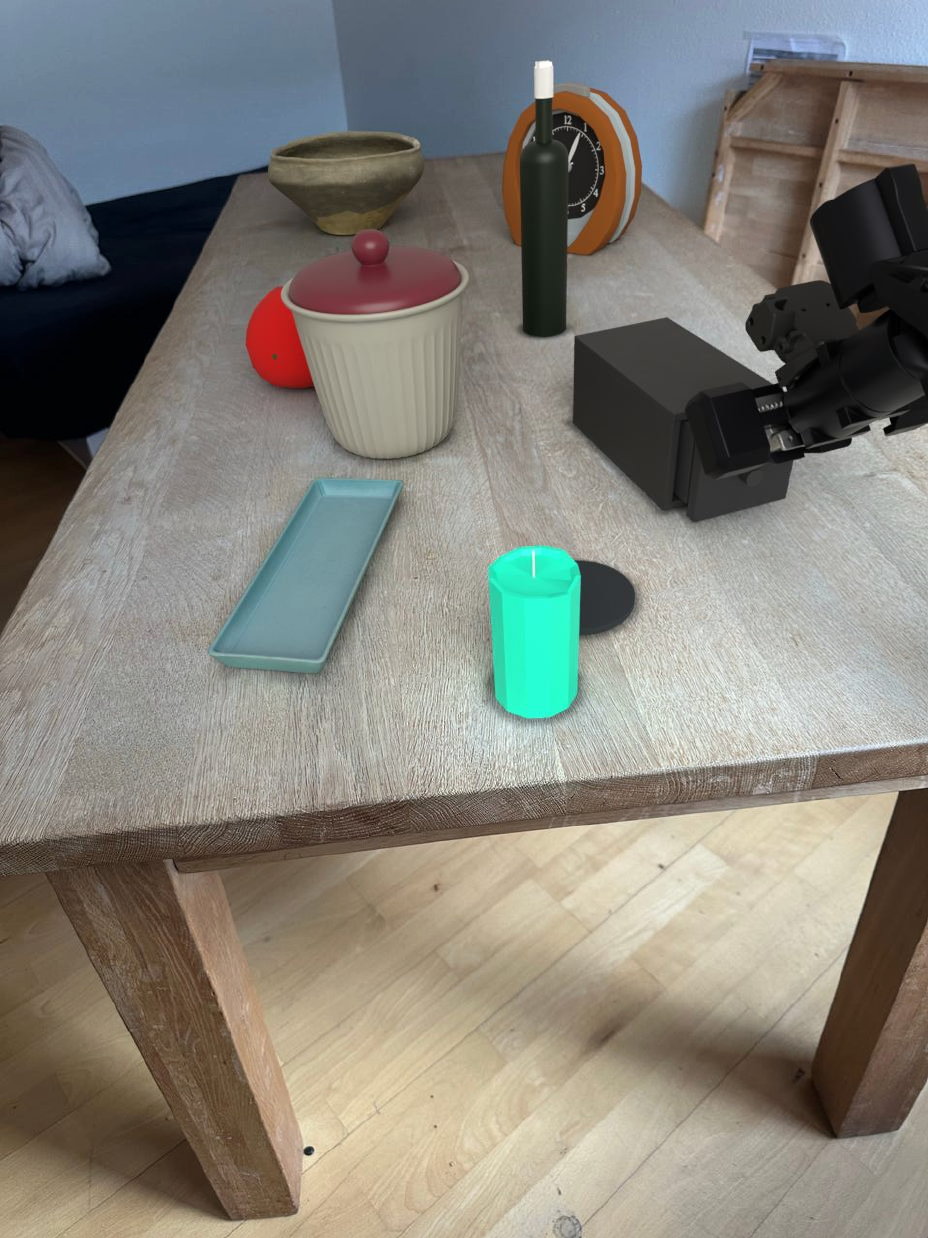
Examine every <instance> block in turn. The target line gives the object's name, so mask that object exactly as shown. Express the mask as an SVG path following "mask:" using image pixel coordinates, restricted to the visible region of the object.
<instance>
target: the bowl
mask: <svg viewBox="0 0 928 1238" xmlns="http://www.w3.org/2000/svg"><path fill="white" fill-rule="evenodd" d="M269 157H270V159H269V162H268V167H267V178H268V181H269V183H270V184H271V185H272V187H274V188H275V189H276V190H277V191H279V192H280V193H281V194H282V195H284V196H285V197H286V198H287V199H289V200H290V201H291V202H292V203H294V204H295V205H296V206H297V207H298V208H299V209H300V210H301V211H302V212H303V213H304V214H305V215H306V216H308V218H309V219H310V220H311V221H313V222H314V223H315V225H316V226H318V228H319V229H320V230H321V231H322V232H325V233H327V234H330V235H335V236H353V235H356V234H357V233H358V232H360V231H363V230H367V229H375V230H380V229H381V228H382V227H383V226H384V225H385V223H386V222H387V221H388V219H389V218H390V217H391V215H392V214H393V213H394V211H395V210H396V209H397V207H398V206H399V205H400V204H401V203H402V202H403V200H405V199H406V198H407V197H408V195H409V194H410V193H411V192H412V191H413V190H414V188H415V187H416V186H417V184H418V183H419V181H420V180H421V179H422V177H423V174H424V170H425V159H424V156H423V151H422V149H421V143H420V142H419V140H418V139H417V138H415V137H413V136H410V135H405V134H402V133H398V132H391V131H372V130H371V131H365V130H364V131H359V130H357V131H356V130H346V131H334V132H326V133H321V134H318V135H312V136H306V137H301V138H297V139H294V140H291V141H289V142H287V143H286V144H283V145H281V146H279V147H276V148H274V149H272V150H271V152H270V156H269Z"/></svg>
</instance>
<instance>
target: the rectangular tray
mask: <svg viewBox="0 0 928 1238" xmlns="http://www.w3.org/2000/svg"><path fill="white" fill-rule="evenodd" d="M404 485H405V483H404V481H403V480H402V479H388V478H387V479H383V478H380V479H379V478H378V479H377V478H346V477H345V478H344V477H316V478H314V479H313V480H312V481H311V482H310V484H309V486H308V488H307V490H306V491H305V493H304V494H303V496H302V497H301V499H300V501H299V502H298V504H297V505H296V508H295V509H294V511H293V512H292V514H291V516H290V517H289V519H288V520H287V522H286V524H285V526H284V527H283V529H282V530H281V532H280V534H279V535H278V537H277V538H276V540H275V542H274V543H273V544H272V546H271V548H270V549H269V551H268V552H267V555H266V556H265V557H264V559H263V561H262V562H261V564H260V565H259V566H258V569H257V570H256V572H255V574H254V575H253V577H252V579H251V580H250V581H249V583H248V585H247V586H246V588H245V590H244V592H243V593H242V595H241V596H240V598H239V600H238V601H237V602H236V604H235V606H234V608H233V609H232V611H231V612H230V614H229V616H228V617H227V619H226V620H225V622H224V624H223V625H222V626H221V628H220V630H219V632H217V634H216V636H215V637H214V639H213V641H212V642H211V644H210V645H209V646H208V648H207V654H208V655H209V656H210V657H212V658H213V659H215V660H216V661H218V662H220V663H222V664H223V665H225V666H227V667H229V668H233V669H234V668H235V669H250V670H260V671H261V670H263V671H273V672H274V671H275V672H276V671H277V672H289V673H300V674H301V673H302V674H318V673H320V672H321V671H322V670H323V668H324V665H325V663H326V661H327V659H328V657H329V654H330V652H331V650H332V648H333V646H334V644H335V641H336V639H337V638H338V635H339V633H340V630H341V629H342V626H343V625H344V622H345V620H346V618H347V615H348V613H349V610H350V608H351V606H352V604H353V602H354V600H355V598H356V595H357V593H358V590H359V588H360V586H361V583H362V581H363V579H364V576H365V574H366V572H367V570H368V568H369V567H370V563H371V561H372V559H373V557H374V554H375V552H376V550H377V548H378V546H379V543H380V540H381V538H382V536H383V534H384V532H385V529H386V528H387V525H388V522H389V520H390V518H391V515H392V514H393V511H394V509H395V507H396V505H397V503H398V500H399V497H400V495H401V493H402V490H403V487H404Z"/></svg>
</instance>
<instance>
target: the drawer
mask: <svg viewBox="0 0 928 1238" xmlns="http://www.w3.org/2000/svg"><path fill="white" fill-rule="evenodd" d="M793 465H794V460H793V461H789V462H785V463H781V464H776V465H773V464H770V463H769V462H767V463H766V464H764V465H763V466H761V467H759V468H756V469H753V470H751V471H748V472H745V473H742V474H738V475H734V476H730V477H726V478H722V479H718V480H713V479H711V478H709V477H708V476H706V475H705V473H704V470H703V466H702V463H701V460H700V457H699V454H698V451H697V447H696V444H695V441H694V438H693V435H692V431H691V428H690V425H689V422H688V419H686V420H682V421H681V424H680V433H679V443H678V452H677V461H676V470H675V479H674V489H673V492H674V493H675V494H676V495H677V496H678V497H679V498H680V499H681V500H682V501H683V502H684V503H686V504H687V503H688V505H687V506H686V507H687V509H686V517H687V518H688V519H689V521H691V522H692V523H698V522H702V521H705V520H709V519H712V518H716V517H720V516H724V515H727V514H731V513H735V512H739V511H743V510H747V509H751V508H754V507H758V506H762V505H765V504H766V505H767V504H770V503H773V502H777V501H781V500H785V499H786V498H787V494H788V489H789V485H790V479H791V474H792V471H793Z"/></svg>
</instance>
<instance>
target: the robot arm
mask: <svg viewBox="0 0 928 1238" xmlns="http://www.w3.org/2000/svg"><path fill="white" fill-rule="evenodd" d="M920 177H921V176H920V175H919V171H918V168H917V166H916V164H915V163H913V162H910V163H904V164H898V165H892V166H887V167H885V168H884V169H882V170H881V172H880V173H878V175H876V176H875V177H874V178H871V179H869V180H867V181H864V182H861V183H860V184H858V185H855V186H853V187H852V188H849V189H848V190H846V191H845V192H843V193H840V194H839V195H838V196H836V197H834V198H832V199H829V200H826V201H824V202H823V203H821V204H820V206H818V207H817V208H816V210H815V211H814V212H813V213H812V214H811V216H810V219H809V226H810V229H811V233H812V235H813V237H814V240H815V243H816V246H817V249H818V252H819V254H820V258H821V260H822V263H823V266H824V269H825V272H826V275H827V277H828V280H829V282H828V281H826V280H822V279H815V280H810V281H806V282H802V283H797V284H792V285H791V284H790V285H785V286H782V287H779V288H777V290H776V291H775V292H774V293H769V294H765V295H764V296H763V298H762V300H761V301H760V302H757V303H754V304H753V305H752V308H751V311H750V312H749V315H748V317H747V318H746V321H745V324H744V325H745V332H746V333H747V335H748V337H749V338H750V340H751V341H752V343H753V345H754V346H755V348H756V349H757V350H758V352H760V353H764V352H769V351H774V352H775V354H776V356H777V357H778V359H779V360H780V361H781V362H782V363H784V364H783V365H781V366H780V367H779V368H777V369H776V370H775V371H774V376H775V377H776V381H777V382H775V383H772V384H771V385H767V386H762V387H758V388H754V389H753V390H752V388H750V387H749V386H747V385H746V384H744V383H743V382H737V383H733V384H728V385H724V386H720V387H715V388H711V389H706V390H702V391H700V392H699V393H697V394H696V395H695V396H694V397H693V398H691V399H690V400H689V401H688V403H687V405H686V407H685V412H686V415H687V419H688V422H689V425H690V428H691V431H692V435H693V438H694V441H695V444H696V447H697V451H698V454H699V457H700V460H701V463H702V466H703V470H704V473H705V475H706V476H708V477H709V478H711V479H713V480H718V479H722V478H726V477H730V476H734V475H738V474H742V473H745V472H748V471H751V470H753V469H756V468H759V467H761V466H763V465H764V464H766V463H767V462H769V463H770V464H773V465H776V464H781V463H785V462H789V461H793V462H794V461H796V460H800V459H804V458H805V457H806V456H805V454H824V453H828V452H833V451H837V450H840V449H844V448H847V447H850V445H852V442H853V438H854V437H855V438H856V437H861V436H863V435H865V434H867V433H869V432H870V431H872V429H871V426H870V424H872V423H875V422H877V421H881V420H886V419H889V422H890V424H888V425H886V426H884V427H883V428H882V431H883V434H884V437H886V438H888V437H892V436H897V435H900V434H903V433H904V434H905V433H908V432H912V431H915V430H918V429H920V428H921V427H923V426H925V425H927V424H928V206H927V203H926V201H925V197H924V193H923V185H922V180H921V178H920ZM853 305H856V306H857V309H858V312H859V313H861V314H868V313H874V312H877V311H880V310H882V309H886V308H888V309H887V310H885V312H883V313H881V314H879V316H877V317H876V318H875V319H873V320H872V321H870V322H869V323H867V324H866V325H865V326H863V327H862V328H860V327H859V326H858V324H857V323H858V321H857V317H856V315H855V314H854V312H853V311H852V310H851V309H850V307H851V306H853ZM784 388H785V389H786V390H785V391H784Z"/></svg>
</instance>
